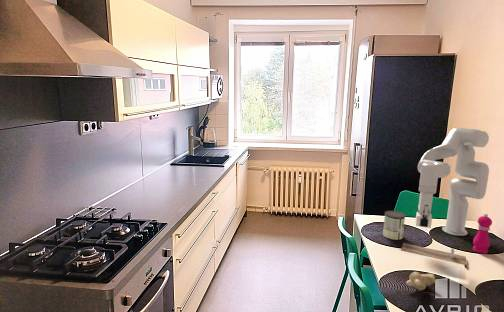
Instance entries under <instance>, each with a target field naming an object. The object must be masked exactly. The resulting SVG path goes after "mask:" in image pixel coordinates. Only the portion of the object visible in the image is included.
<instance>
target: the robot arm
mask: <svg viewBox="0 0 504 312" xmlns="http://www.w3.org/2000/svg"><path fill="white" fill-rule="evenodd" d="M489 139H490V137H489V134H488V132H487V131H484V130H480V129H475V128H465V127H464V128H463V127H454V128H452V129H450V131H449V132H448V134H447V135H446V136H445V138H444V140H443V142H442V143H441V144H440V145H438V146H435V147H433V148H430V149H429V150H427V151H426V152H425V153H424V154H423V155H422V157H421V158H420V160H419V161H418V164H417V171H418V172H419V173H420V177H419V182H418V183H419V185H418V192H420V193H419V199H418V205H417V207H418V208H417V209H418V212H421V213H422V218H421V220H420V226H419V227H421V226H422V228H427V226H428V214H431V212H432V205H433V198H434V194H436V193H437V188H438V180H439V178H441V179H443V178H446V177H448V176H449V175H450V173H451V166H450V164H448V162H445V161H437V160H441V159H449V158H454V157H455V156H456V160H455V166H454V167H455V168H454V172H455V174H456V175H457V176H459V178H457V177H455V178H453V179H451V180H450V182H449V187H448V188H449V200H448V206H447V207H448V208H447V215H446V222H445V225H444V226H442V227H441V228H442V229H441V230H442V231H443V232H444V233H446V234H449V235H452V236H457V237H458V236H460V237H464V236H467V235H468V231H467V230H466V223H467V216H468V215H467V214H468V209H469V201H468V199H467V198H469V199H473V200H474V199H475V200H482V199H484V197H485V196H486V193H487V185H488V180H489V174H490V168H489V165H488V164H487V163H486V162H482V161H475V156H476V150H475V148H485V147H486V146H487V144H488V143H489ZM474 147H475V148H474ZM460 177H461V178H460ZM462 177H463V178H462ZM466 178H469V179H466ZM471 179H474V180H471ZM423 214H424V215H423Z"/></svg>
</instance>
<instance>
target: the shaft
mask: <svg viewBox="0 0 504 312" xmlns="http://www.w3.org/2000/svg"><path fill="white" fill-rule="evenodd" d="M450 253H451V254H450V259H453V257H454V254H455V248H452V247H451V249H450Z"/></svg>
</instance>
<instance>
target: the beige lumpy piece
mask: <svg viewBox="0 0 504 312" xmlns="http://www.w3.org/2000/svg"><path fill="white" fill-rule="evenodd" d="M408 276H409V277H408V279H409V280H407V281H405V284H406V286H413V287H414V288H416V289H418V291H423V290H424V291H425V289H426V288H427V286H431V285H432V284H435V283H436V277H435V274H434V273H426V274H424V273H422V274H421V273H419V272H418V271H413V272H411V273H410V275H408Z"/></svg>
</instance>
